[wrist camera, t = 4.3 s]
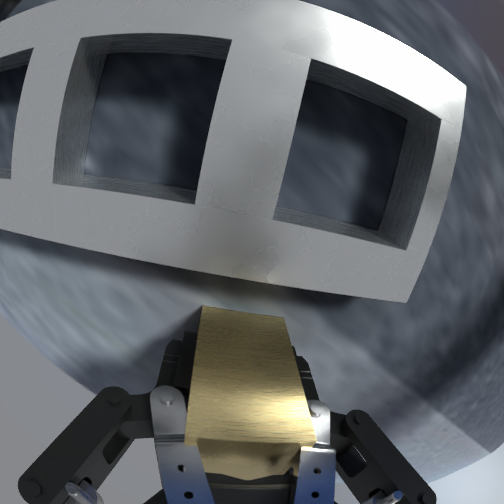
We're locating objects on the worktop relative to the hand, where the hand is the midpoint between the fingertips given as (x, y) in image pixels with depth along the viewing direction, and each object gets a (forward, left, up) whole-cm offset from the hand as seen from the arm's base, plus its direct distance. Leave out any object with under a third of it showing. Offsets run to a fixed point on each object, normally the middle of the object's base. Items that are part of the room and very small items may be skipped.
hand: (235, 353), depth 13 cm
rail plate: (+5, -10, -1) cm, 11 cm away
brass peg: (0, 0, -1) cm, 1 cm away
